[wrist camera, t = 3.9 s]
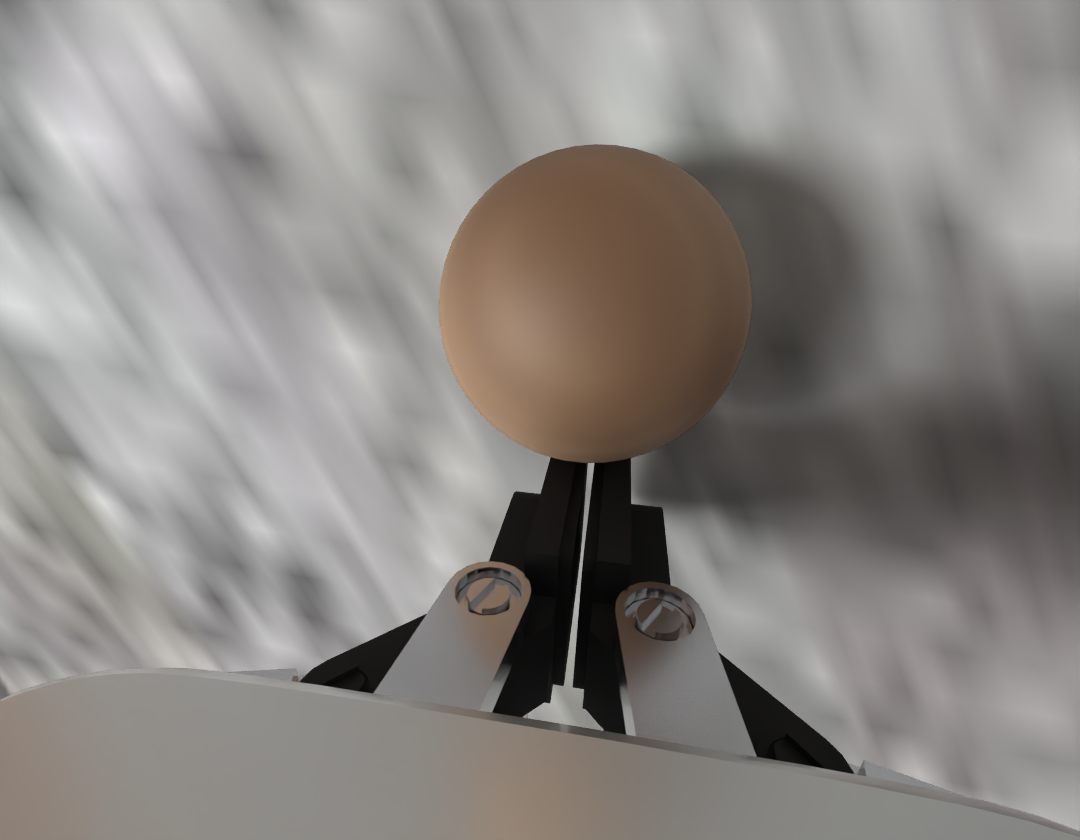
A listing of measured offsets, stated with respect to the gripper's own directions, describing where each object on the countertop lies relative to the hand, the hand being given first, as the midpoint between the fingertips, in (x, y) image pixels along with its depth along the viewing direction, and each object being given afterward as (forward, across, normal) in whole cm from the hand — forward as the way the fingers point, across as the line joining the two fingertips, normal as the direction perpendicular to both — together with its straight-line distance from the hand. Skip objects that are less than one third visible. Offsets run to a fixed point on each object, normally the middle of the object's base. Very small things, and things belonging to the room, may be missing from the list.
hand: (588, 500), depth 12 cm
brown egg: (0, 0, -4) cm, 4 cm away
